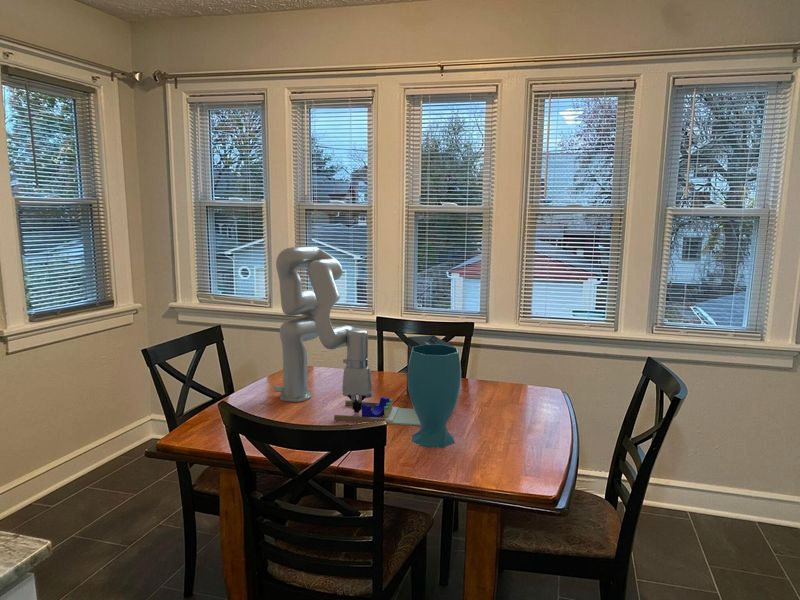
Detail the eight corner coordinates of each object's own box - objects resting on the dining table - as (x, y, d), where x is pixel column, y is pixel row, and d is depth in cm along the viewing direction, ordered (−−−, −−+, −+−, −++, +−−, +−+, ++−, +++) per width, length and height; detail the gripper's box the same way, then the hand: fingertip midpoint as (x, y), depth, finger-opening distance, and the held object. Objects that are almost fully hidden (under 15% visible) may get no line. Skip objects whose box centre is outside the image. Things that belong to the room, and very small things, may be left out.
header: (334, 421, 195) (334, 408, 195) (346, 405, 212) (346, 393, 211) (426, 427, 191) (426, 414, 190) (430, 410, 207) (431, 398, 206)
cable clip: (379, 411, 207) (379, 395, 206) (388, 413, 204) (389, 398, 203) (358, 420, 197) (358, 404, 196) (368, 423, 195) (368, 406, 194)
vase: (407, 428, 190) (408, 343, 185) (457, 429, 189) (460, 344, 185) (406, 449, 173) (407, 355, 168) (461, 450, 172) (464, 356, 168)
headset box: (455, 408, 210) (457, 342, 206) (425, 411, 206) (427, 344, 202) (432, 390, 231) (433, 330, 227) (405, 393, 227) (406, 331, 223)
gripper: (334, 364, 197) (334, 413, 200) (375, 367, 195) (375, 416, 198) (339, 359, 205) (339, 406, 208) (379, 361, 203) (378, 409, 205)
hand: (357, 411), depth 203 cm, fingers closed
